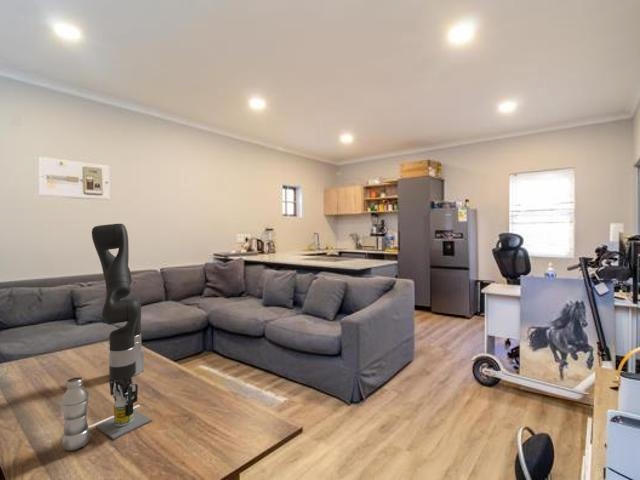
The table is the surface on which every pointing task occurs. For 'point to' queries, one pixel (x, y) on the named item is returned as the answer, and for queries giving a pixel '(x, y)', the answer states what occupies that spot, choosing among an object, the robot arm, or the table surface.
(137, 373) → the robot arm
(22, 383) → the table surface
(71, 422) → the plastic bottle
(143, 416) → the mat
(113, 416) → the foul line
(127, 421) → the supplement bottle
